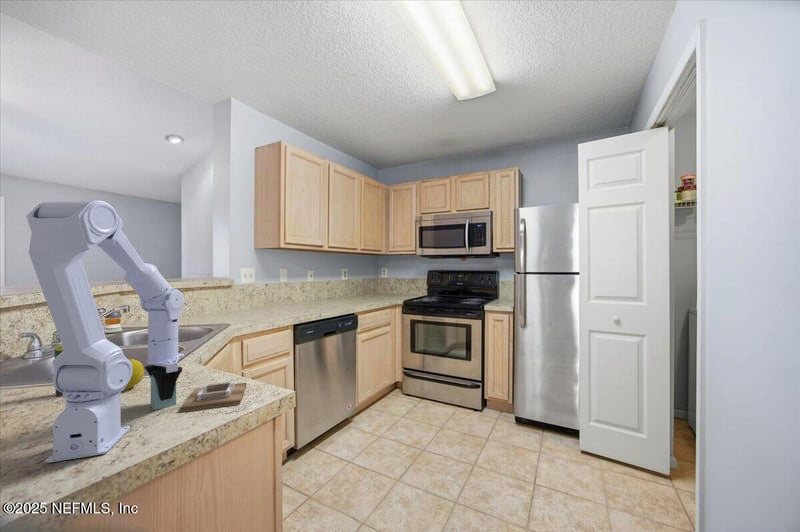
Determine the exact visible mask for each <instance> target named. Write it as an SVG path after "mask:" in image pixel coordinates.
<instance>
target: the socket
mask: <svg viewBox="0 0 800 532" xmlns="http://www.w3.org/2000/svg"><path fill="white" fill-rule="evenodd" d="M246 388H247V382H241V383H235V381H228V382H220V383H218V382H217V383H209V384H203V385H202V387H198V388H197V387H196V388H194V389H193V391H192V392H191V393H190V395H188V397H187V398H186V400H185V401H184V403H182V405H181V406H180V407H179V410H180V413H185V412H192V411H199V410H208V409H214V408H222V407H230V406H236V405H241V402H242V400H243V398H244V395H245V392H246Z"/></svg>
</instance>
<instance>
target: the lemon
mask: <svg viewBox="0 0 800 532" xmlns="http://www.w3.org/2000/svg"><path fill="white" fill-rule="evenodd" d="M128 360H129V361H130V362H131V364H132V368H133V370H132V376H131V378H130V380H129V382H128V384H127V385H126V386H125V387H124V388H127V389H128V390H129V389H133V388H134V387H135V386H136V385H138V384H139V383H140V382H141V381H142V380H143V378H144V375H145V367H144V365H143V364H142V362H140V361H139V360H138V359H133V358H128Z"/></svg>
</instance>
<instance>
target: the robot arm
mask: <svg viewBox="0 0 800 532" xmlns="http://www.w3.org/2000/svg"><path fill="white" fill-rule="evenodd" d="M26 220H27V222H28V225H29V229H30V230H31V231H30V233H31V235H30V241H29V249H28V254H29V257H30V260H31V262H32V266H33V268H34V271H35V274H36V277H37V280H38V283H39V286H40V287H41V291H42V294H43V296H44V298H45V302H46V305H47V307H48V310H49V313H50V316H51V318H52V322H53V323H54V326H55V330H56V333H57V335H58V338H59V340H60V341H59V342H60V343H61V344H62V347H63V349H64V351H63V352H61V353H60V354H59V355H58V356H57V357H56V358H55V357H54V359H52V366H53V370H54V372H53V377H52V383H53V384H52V385H53V387H54V388H55V390H56V389H57V390H58V391H60V392H63V395H62V399H65V407H64V409H63V411H61V413H59V415H58V416H57V417H56V418H55V419H54V422H53V426H52V432H53V433H52V455H51V456H49V457H48V458H47V459H45V464H49V463H54V462H55V463H56V462H63V461H67V460H74V459H80V458H86V457H92V456H99V455H103V454H106V453H108V452H109V450H110V449H111V448H113V447H114V445H115V444H117V443H118V442H119V440H121V439H122V437H123V436H124V435H126V433H127V432H128V431H129V430H130V429H131V426H130V425H126V426H121V424H122V423H121V421H122V419H121V414H122V412H121V408H122V407H121V404H122V400H121V396H122V395H121V394H122V391H124V390H125V388H126V387H125V386H126V385H127V384H128V382H129V380H130V378H131V376H132V370H133V368H132V364H131V362H130V361H129V358H127V357H126V356H125V354H124V352H123V349H122V348H121V347H120V346H118V345H117V344H115V343H113V342H111V341H110V340H109V339H107V337H106V333H105V331H104V327H103V324H102V320H101V317H100V314H99V311H98V308H97V305H96V301H95V298H94V296H93V292H92V288H91V285H90V282H89V279H88V276H87V272H86V270H85V266H84V262H83V260H82V258H83V256H85V254H86V253H87V251H89V250H91V249H93V248H94V247H96V246H97V247H99V248H100V249H101V250H102V251H103V252H104V253H106V254H107V255H108V257H110V258H111V259H112V260H113V261H114V262H115V263H116V264H117V265H118V266H119V267H121V268H122V270H123V271H125V273H124V280H125V282H126V283H127V284H128V285H129V286H130V287H131V288H132V289H133V290H134V291H135V292H136V294H137V295H138V298H139V299H140V301H139V302H140V306H141V309H142V310H144V311H145V312H147V316H148V318H147V359H146V364H148V365H145V366H144V370H145V371H146V372H147V374H148V376H149V378H150V379H151V375H153V377H154V378H155V381H156V383H157V387H158V393H159V398H160V400H161V401H163V400H167V399H171V398H172V396H173V392H174V388H175V385H176V386H177V381H178V379H179V376H180V375H181V373H182V372H183V367H181V366H179V364H178V363H179V360H180V359H182V358H185V353H179V319H180V318H181V316H182V309H183V308H184V305H185V301H186V298H184V294H183V292H182V291H181V290H179V289H177V288H175V287H172V286H171V285H170V283H168V281H167V280H166V279H165V277H164V276H163V274H161V273H160V272H159V268H158V267H157V266H156V265H154V264H152V263H147V262H146V263H145V262H144V261H143V260H142V258H141V257H140V255H139V254H138V252H137V251H136V249H135V248H134V246H133V245H132V244H131V242H130V240H129V239H128V237H127V236H126V234H125V233H124V231H123V230H122V228H123V218H121V217H120V216H119V215H118V213H117V211H116V210H115V209H114V207H113V206H112V205H111V204H109V203H108V202H107V201H103V200H99V199H95V200H88V201H86V200H84V201H83V200H82V201H81V200H80V201H78V200H77V201H75V200H72V201H57V200H46V201H42V202H41V203H38V204H37V205H36V206H35V207H33V209H32V210H31V211H30V212H29V213H28V214H27V215H26Z"/></svg>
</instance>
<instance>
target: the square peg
mask: <svg viewBox="0 0 800 532" xmlns="http://www.w3.org/2000/svg"><path fill="white" fill-rule="evenodd" d="M175 405H177V384H176V385H175V388H174V392H173V396H172V398H171V399H167V400H163V401H161V400H160V398H159V393H158V387H157V383H156V381H155V378H154V377H153V375H151V378H150V406H151V407H152V409H154V410H155V411H157V410H160V409H161V410H162V409H164V408H167V407H171V406H175Z"/></svg>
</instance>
